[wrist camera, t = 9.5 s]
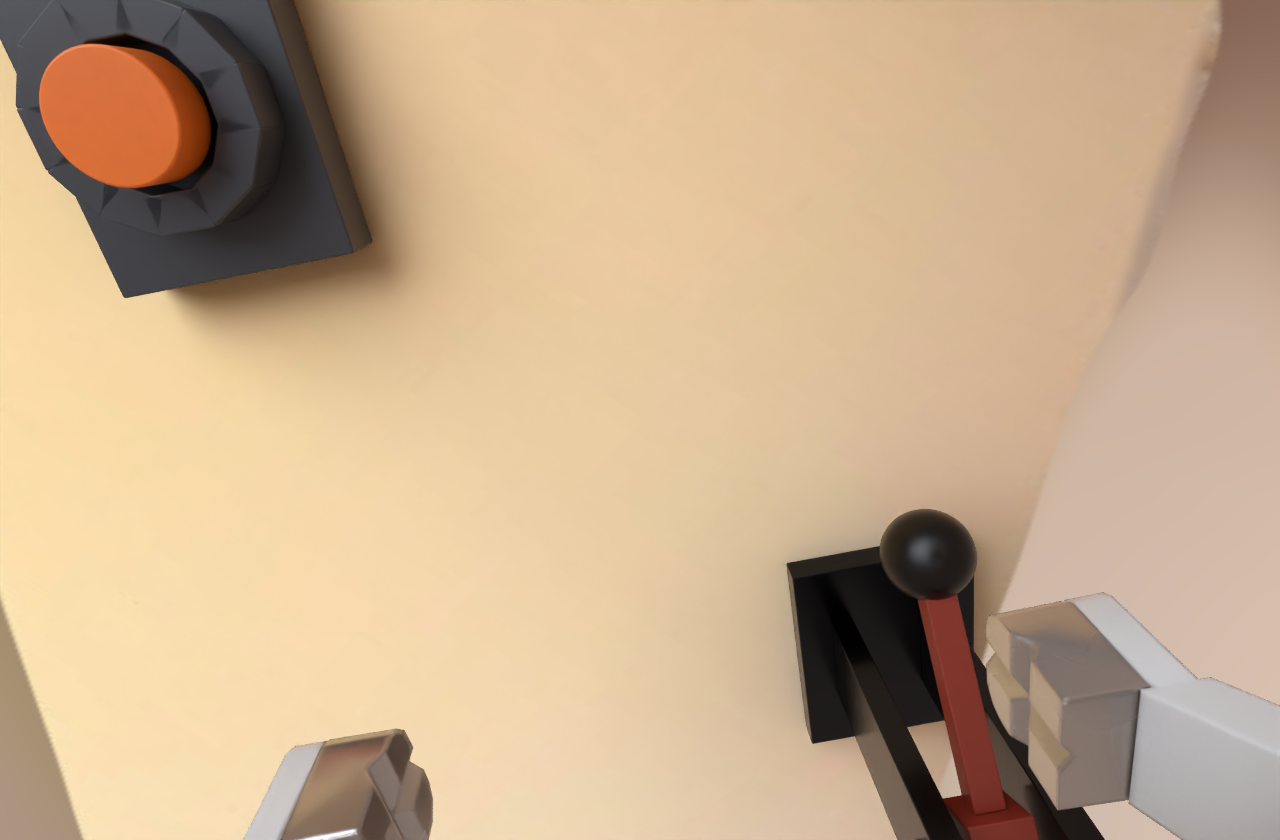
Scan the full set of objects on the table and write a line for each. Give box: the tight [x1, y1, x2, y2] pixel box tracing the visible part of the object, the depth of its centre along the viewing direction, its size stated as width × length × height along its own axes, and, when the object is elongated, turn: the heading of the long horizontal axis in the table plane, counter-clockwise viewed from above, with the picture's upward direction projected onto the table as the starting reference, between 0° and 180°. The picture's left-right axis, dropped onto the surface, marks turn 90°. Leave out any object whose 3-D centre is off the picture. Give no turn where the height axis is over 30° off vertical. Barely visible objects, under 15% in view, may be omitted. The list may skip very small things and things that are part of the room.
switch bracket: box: [787, 546, 1105, 840], centre depth 29 cm, size 10×8×13 cm
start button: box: [39, 44, 211, 188], centre depth 20 cm, size 4×4×2 cm
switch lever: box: [880, 509, 1039, 840], centre depth 25 cm, size 13×3×3 cm, turn 11°
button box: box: [0, 0, 372, 298], centre depth 23 cm, size 10×8×4 cm
